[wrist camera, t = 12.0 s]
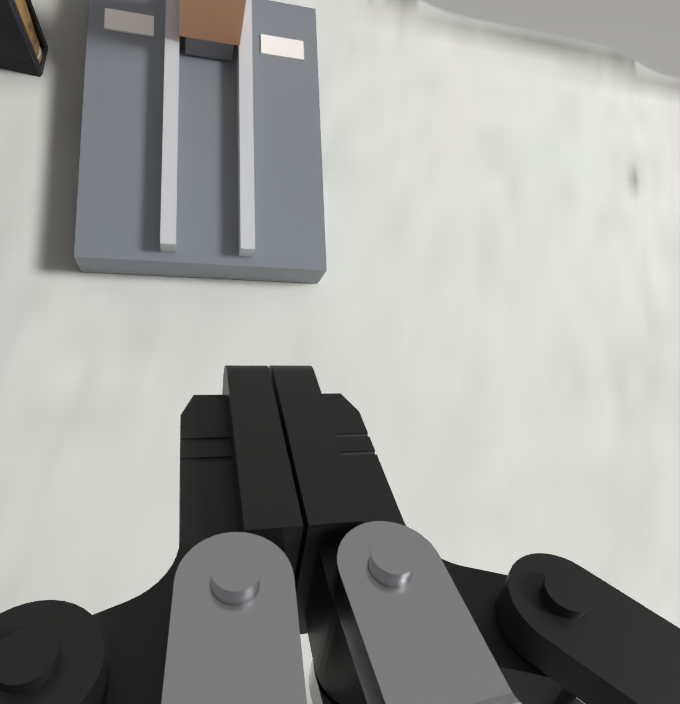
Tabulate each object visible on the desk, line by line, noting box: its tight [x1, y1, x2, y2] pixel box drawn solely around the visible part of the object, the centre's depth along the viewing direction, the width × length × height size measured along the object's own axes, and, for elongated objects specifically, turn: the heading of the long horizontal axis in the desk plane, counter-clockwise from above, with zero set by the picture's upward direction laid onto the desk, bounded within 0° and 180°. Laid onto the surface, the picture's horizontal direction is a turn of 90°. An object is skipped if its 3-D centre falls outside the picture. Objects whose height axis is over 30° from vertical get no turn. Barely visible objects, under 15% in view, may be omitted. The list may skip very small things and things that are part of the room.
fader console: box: [74, 0, 326, 283], centre depth 30 cm, size 12×16×3 cm
